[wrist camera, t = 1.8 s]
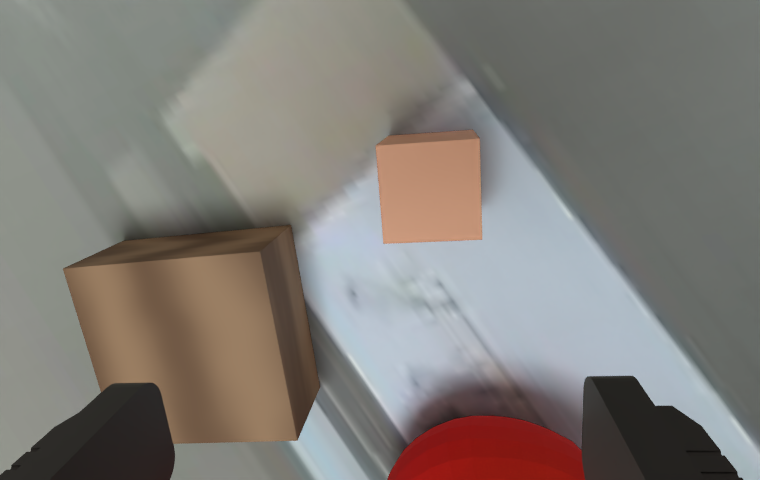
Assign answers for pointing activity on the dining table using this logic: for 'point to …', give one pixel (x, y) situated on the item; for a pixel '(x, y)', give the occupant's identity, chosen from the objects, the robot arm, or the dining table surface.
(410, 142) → the terracotta block
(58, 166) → the dining table surface
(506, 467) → the tomato
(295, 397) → the walnut block
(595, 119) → the dining table surface
